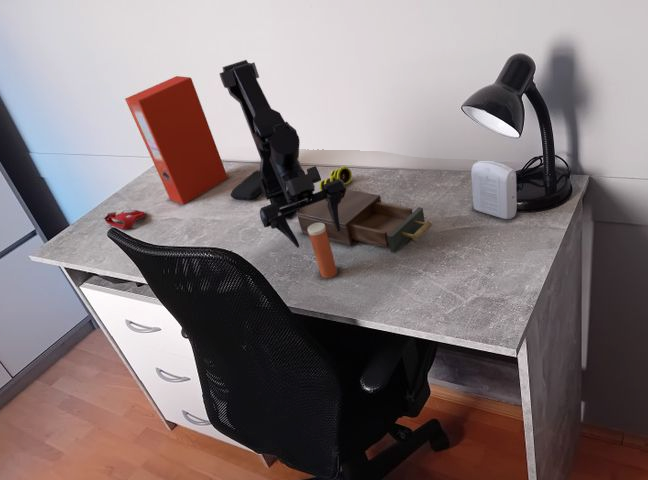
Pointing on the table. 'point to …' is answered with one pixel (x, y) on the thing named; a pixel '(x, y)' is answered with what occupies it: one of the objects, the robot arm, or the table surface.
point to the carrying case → (248, 188)
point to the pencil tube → (322, 250)
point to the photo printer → (494, 189)
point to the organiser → (347, 213)
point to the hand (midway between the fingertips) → (318, 239)
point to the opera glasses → (338, 176)
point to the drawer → (389, 225)
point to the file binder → (178, 138)
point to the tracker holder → (124, 218)
